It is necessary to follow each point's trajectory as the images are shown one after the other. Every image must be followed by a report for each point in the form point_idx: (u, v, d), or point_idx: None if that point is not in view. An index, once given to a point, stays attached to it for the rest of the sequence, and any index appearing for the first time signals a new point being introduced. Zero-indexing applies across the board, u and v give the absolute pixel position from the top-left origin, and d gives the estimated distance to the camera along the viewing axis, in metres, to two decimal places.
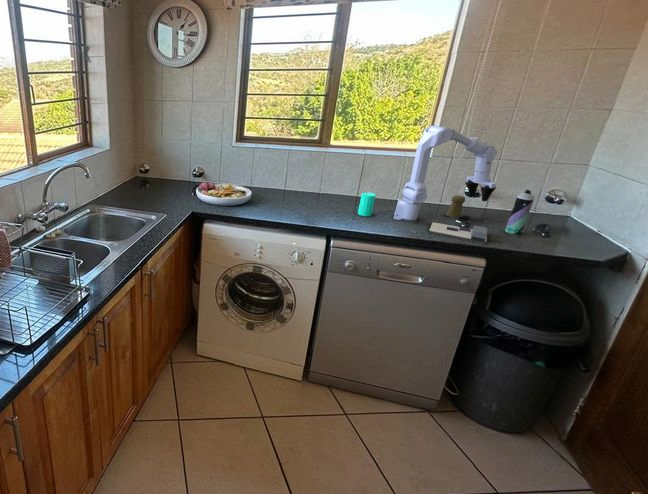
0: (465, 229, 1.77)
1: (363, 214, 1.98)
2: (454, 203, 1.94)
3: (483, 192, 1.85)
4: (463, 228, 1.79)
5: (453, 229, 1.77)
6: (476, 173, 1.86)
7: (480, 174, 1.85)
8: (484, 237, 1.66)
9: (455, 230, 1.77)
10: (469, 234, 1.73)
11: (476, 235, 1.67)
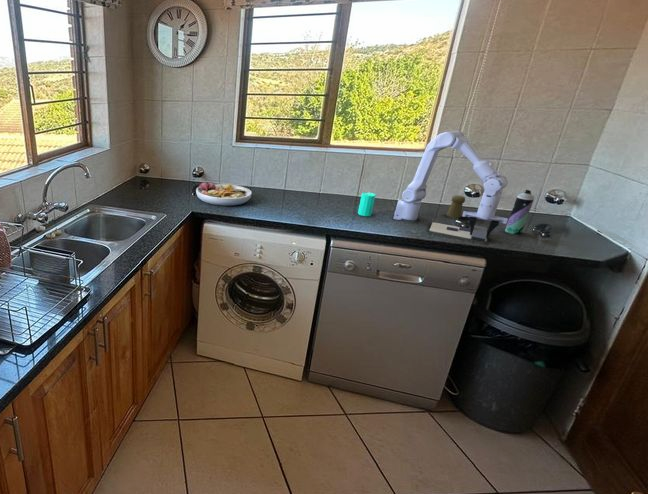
0: (465, 229, 1.77)
1: (363, 214, 1.98)
2: (454, 203, 1.94)
3: None
4: (463, 228, 1.79)
5: (453, 229, 1.77)
6: None
7: None
8: (484, 237, 1.65)
9: (455, 230, 1.77)
10: (469, 234, 1.73)
11: (476, 235, 1.67)
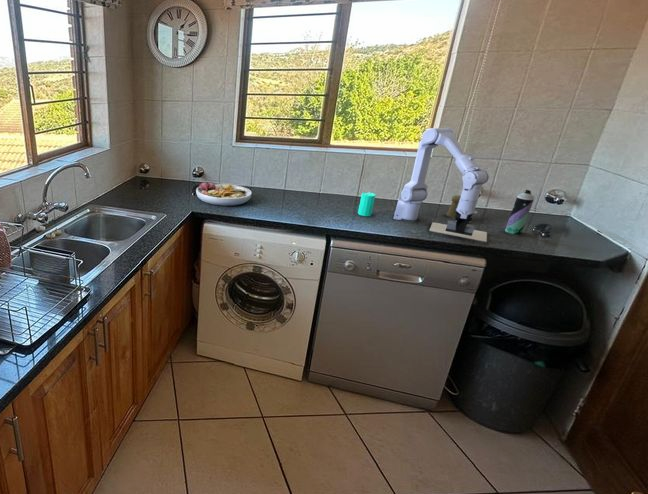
0: None
1: (363, 214, 1.98)
2: (454, 203, 1.94)
3: (456, 220, 1.66)
4: None
5: None
6: (459, 200, 1.66)
7: (461, 201, 1.64)
8: None
9: None
10: None
11: (473, 230, 1.65)
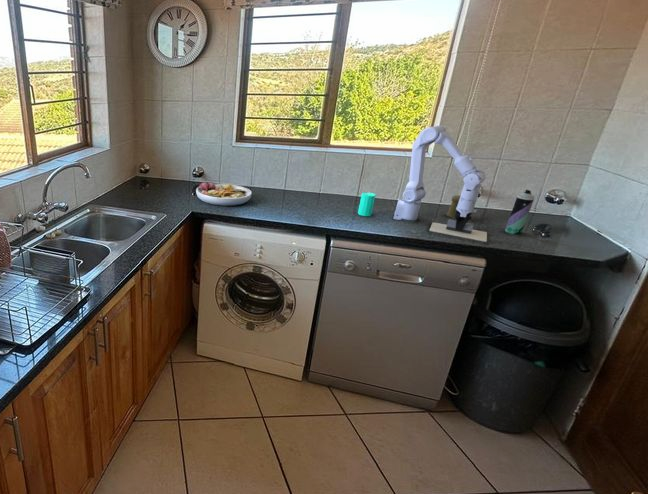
0: None
1: (363, 214, 1.98)
2: (454, 203, 1.94)
3: (456, 219, 1.74)
4: None
5: None
6: (459, 199, 1.74)
7: (461, 201, 1.73)
8: None
9: None
10: (469, 234, 1.73)
11: (472, 228, 1.74)
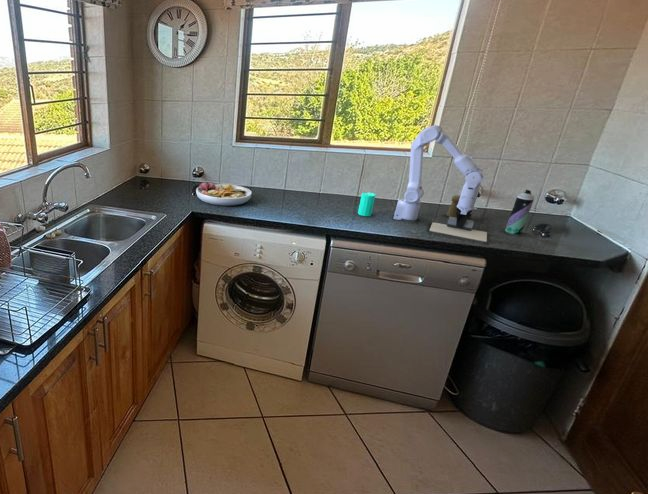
0: None
1: (363, 214, 1.98)
2: (454, 203, 1.94)
3: None
4: None
5: None
6: (460, 197, 1.77)
7: (461, 198, 1.76)
8: None
9: None
10: (469, 234, 1.73)
11: (472, 225, 1.77)
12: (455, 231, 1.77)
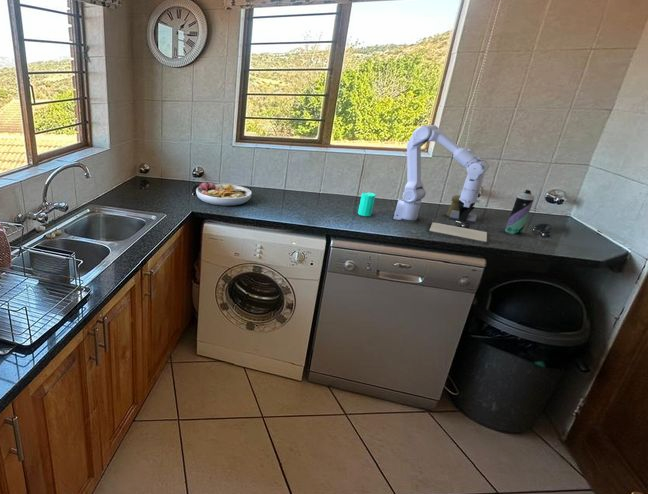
0: None
1: (363, 214, 1.98)
2: (454, 203, 1.94)
3: (459, 209, 1.72)
4: None
5: None
6: None
7: (464, 191, 1.71)
8: None
9: None
10: (469, 234, 1.73)
11: (475, 219, 1.72)
12: (455, 231, 1.77)
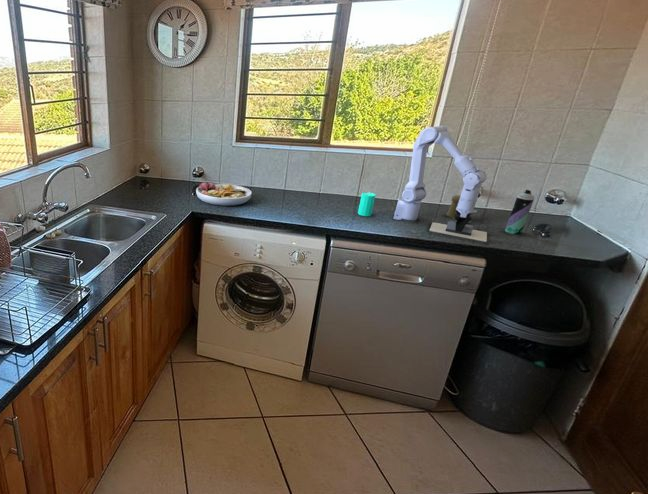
0: None
1: (363, 214, 1.98)
2: (454, 203, 1.94)
3: None
4: None
5: None
6: (459, 199, 1.72)
7: (461, 201, 1.71)
8: None
9: None
10: None
11: (472, 230, 1.72)
12: None
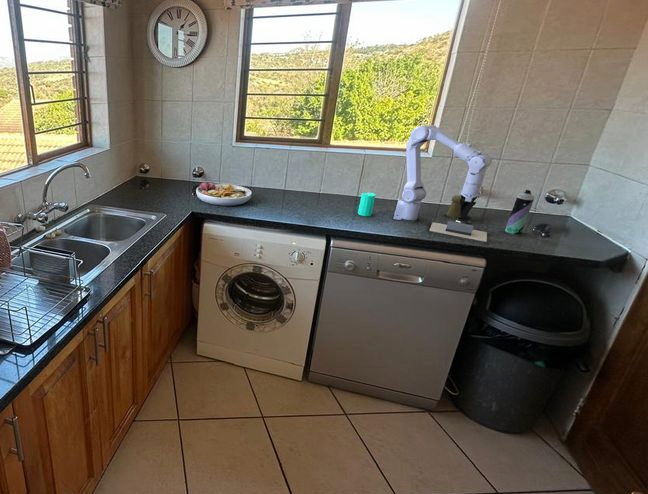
0: None
1: (363, 214, 1.98)
2: (454, 203, 1.94)
3: None
4: None
5: None
6: (464, 183, 1.70)
7: (465, 185, 1.68)
8: None
9: None
10: None
11: (472, 230, 1.72)
12: None
